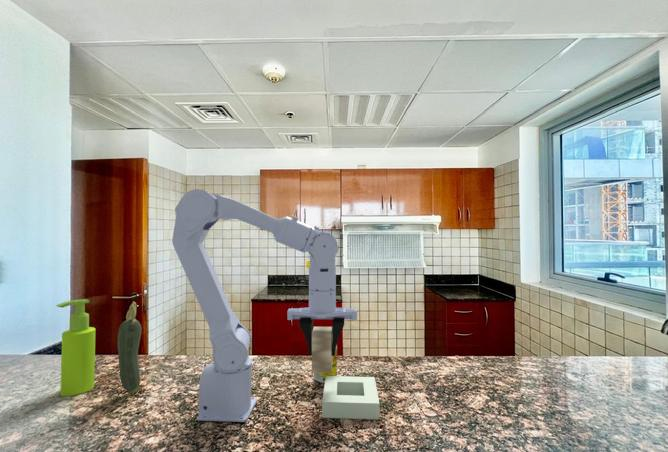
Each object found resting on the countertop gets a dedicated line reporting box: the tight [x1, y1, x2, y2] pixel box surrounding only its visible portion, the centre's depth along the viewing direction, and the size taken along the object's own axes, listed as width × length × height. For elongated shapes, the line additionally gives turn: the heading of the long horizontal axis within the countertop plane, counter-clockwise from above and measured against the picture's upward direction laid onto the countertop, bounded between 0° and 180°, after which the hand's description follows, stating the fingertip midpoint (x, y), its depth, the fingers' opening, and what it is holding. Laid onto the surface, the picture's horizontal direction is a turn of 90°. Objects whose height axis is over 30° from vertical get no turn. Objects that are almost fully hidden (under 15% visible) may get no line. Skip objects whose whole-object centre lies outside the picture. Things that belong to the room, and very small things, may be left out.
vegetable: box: [117, 300, 142, 394], centre depth 69 cm, size 4×4×20 cm
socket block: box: [321, 375, 381, 420], centre depth 65 cm, size 11×11×3 cm
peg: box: [311, 326, 332, 373], centre depth 66 cm, size 4×4×8 cm
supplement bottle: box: [313, 344, 338, 384], centre depth 77 cm, size 6×6×10 cm
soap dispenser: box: [56, 298, 97, 397], centre depth 70 cm, size 6×7×20 cm
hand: (322, 353), depth 66 cm, fingers closed on peg, 4 cm apart
